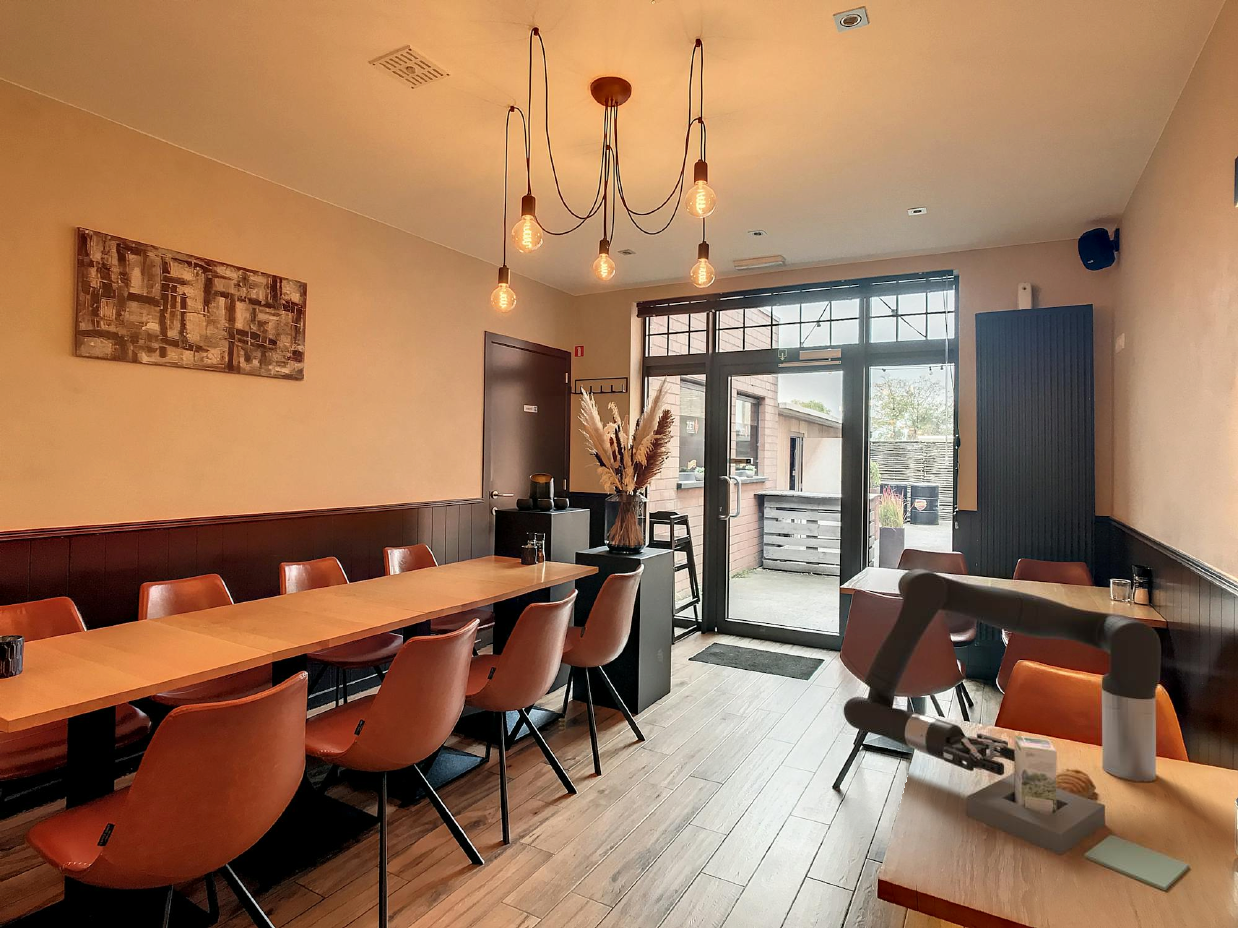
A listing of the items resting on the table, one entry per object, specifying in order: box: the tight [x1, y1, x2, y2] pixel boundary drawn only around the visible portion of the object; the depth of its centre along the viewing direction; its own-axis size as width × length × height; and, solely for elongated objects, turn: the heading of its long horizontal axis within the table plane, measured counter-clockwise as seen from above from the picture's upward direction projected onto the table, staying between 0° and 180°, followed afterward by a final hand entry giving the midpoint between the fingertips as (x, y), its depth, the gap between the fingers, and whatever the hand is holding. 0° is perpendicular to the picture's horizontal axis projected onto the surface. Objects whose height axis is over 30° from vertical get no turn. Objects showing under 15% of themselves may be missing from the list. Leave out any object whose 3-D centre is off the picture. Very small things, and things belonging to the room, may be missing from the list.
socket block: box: [966, 772, 1106, 856], centre depth 126 cm, size 18×16×4 cm
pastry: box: [1056, 768, 1097, 799], centre depth 137 cm, size 9×7×4 cm
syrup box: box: [1013, 735, 1058, 816], centre depth 126 cm, size 6×6×14 cm
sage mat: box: [1083, 834, 1190, 891], centre depth 112 cm, size 11×11×1 cm
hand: (1014, 764), depth 129 cm, fingers open, 8 cm apart
